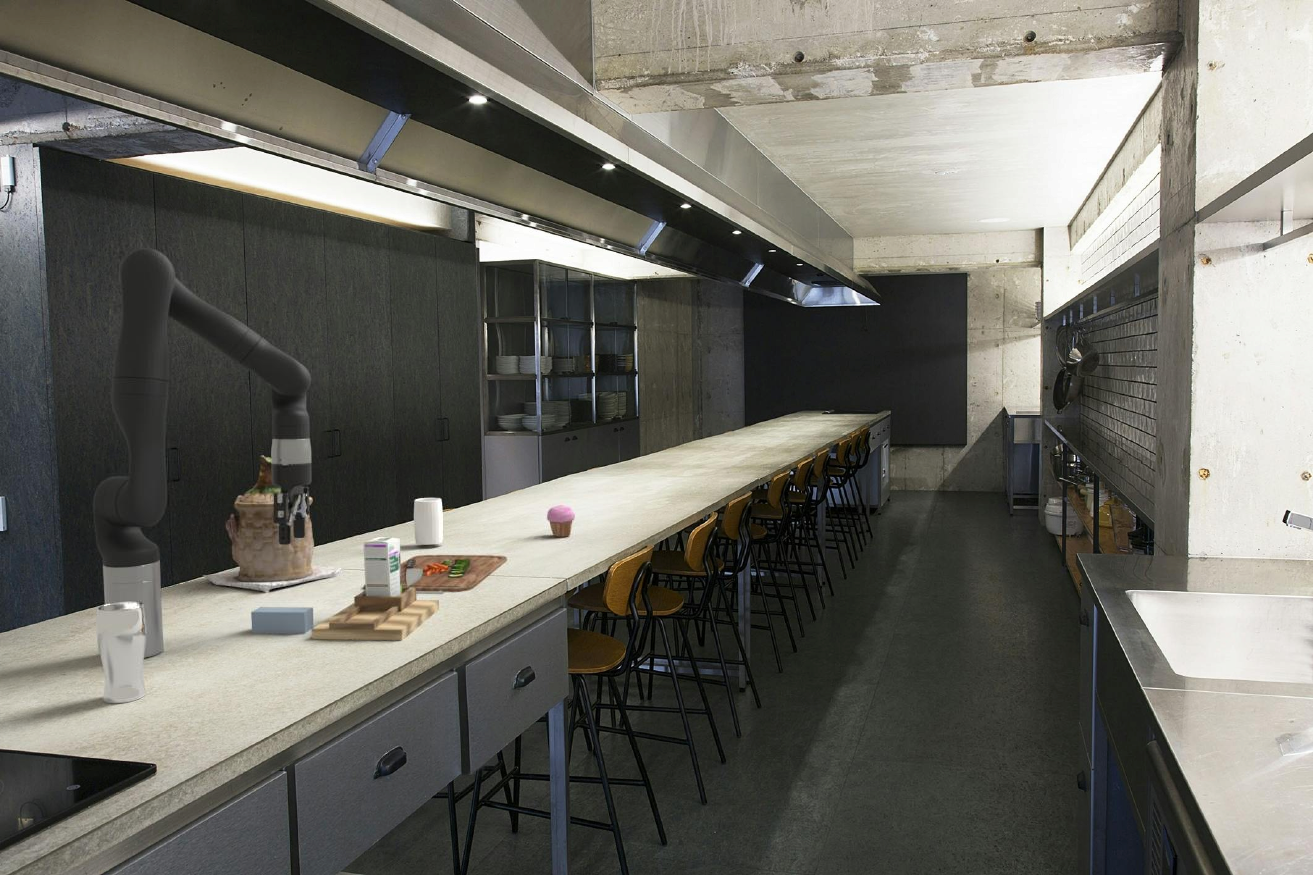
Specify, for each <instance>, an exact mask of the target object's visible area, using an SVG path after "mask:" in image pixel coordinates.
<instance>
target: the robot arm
mask: <svg viewBox="0 0 1313 875" xmlns="http://www.w3.org/2000/svg"><path fill="white" fill-rule="evenodd" d="M118 282H119V286H120V287H121V301H122V302H121V303H122V304H121V307H122V315H121V316H122V318H121V326H120V327H121V328H120V333H119V337H118V342H117V346H116V350H115V356H114V362H113V369H112V376H111V377H112V379H111V380H112V381H111V395H110V396H111V399H110V400H111V408H112V411H113V412H112V413H113V414H114V417H115V419H116V421H117V423H118V426H119V428H120V430H121V432H122V434H123V436H124V438H125V440H126V445H127V448H128V460H129V463H128V464H129V466H128V476H122V475H121V476H119V475H118V476H111V477H108V478H106V479H104V480H103V481H101V482H100V483H99V485H98V486H97V487H96V489H95V492H94V496H93V500H92V510H93V519H94V520H93V523H94V529H95V530H94V531H95V542H96V546H97V549H98V553H100V556H101V558H102V572H103V573H102V574H103V591H104V605H105V604H109V603H115V602H123V601H139V602H143V603H144V612H145V619H146V646H145V653H144V659H146V658H151V657H153V656H156V655H158V654H161V653H163V652H164V649H165V648H164V627H163V605H162V588H161V587H162V586H161V585H162V584H161V583H162V582H161V562H160V549H159V546H158V544H156V543H155V542H153V541H151V540H150V539H148V538H147V537H146V536H145V535H144V533H143V532H142V529H141V528H150V527H153V526H155V525H156V524H158V523H159V521H160V520H161V519H162V518H163V517H164V514H165V511H166V509H167V503H168V501H167V500H168V482H167V480H168V479H167V477H168V476H167V464H166V438H167V436H166V434H167V433H166V432H167V430H166V429H167V413H168V412H167V411H168V401H169V400H168V398H169V384H170V360H169V358H170V357H169V342H168V321H169V320H168V318H170V319H172V320H174V321H175V322H177V323H178V324H180V325H182V326H183V327H185V328H187V329H188V330H190V331H191V332H192V333H194V334H195V335H197V336H198V337H199V338H201V339H202V340H203V341H205V342H206V343H208V344H209V345H210V346H212V347H213V348H215V349H216V350H217V351H218V352H220V353H221V354H223V355H224V356H226V357H227V358H228V359H230V360H231V361H232V362H234V363H236V364H237V365H239V366H240V367H241V368H243V369H245V370H246V371H248V372H252V373H253V374H255V375H257V376H258V377H259V378H261V380H263V381H265V382H266V383H267V384H269V385H270V398H271V406H272V407H271V408H272V422H271V423H272V426H271V427H272V444H271V449H270V450H271V454H270V456H271V457H270V458H271V465H272V484H273V485H276V486H281V491H280V493H274V514H273V522H274V524H277V525H279V544H281V545H288V544H290V543H291V526H289V525H291V522H292V518H293V519H296V520H293V532H294V538H304V537H305V520H304V519H306V518H307V515H310V512H311V511H310V506H309V497H310V488H309V486H307V485H311V484H312V481H313V480H312V445H311V438H310V437H311V436H310V428H311V427H310V415H309V412H308V411H307V391H308V390H309V388H310V387H311V382H312V378H311V374H310V371H309V370H308V368H306V367H305V366H304V364H302V363H301V362H300V361H298V360H296V359H295V358H294V357H292V356H290V355H288V354H287V353H285V352H284V351H282V350H280V349H278V348H277V347H275V346H273V345H272V344H271V343H270V342H269V341H268V340H266V339H265V338H264V337H262V336H261V334H258V333H257V332H256V331H254V330H253V329H251V328H250V327H248V326H247V325H246V324H245V323H243V322H241V321H240V320H238V319H236V318H235V317H233V316H231V315H230V314H228V313H226V312H224V311H222V310H220V309H218V308H217V307H214V306H213V305H212V304H209V303H208V302H206V301H205V300H203V299H202V298H200V297H198V296H197V295H196V294H195V293H194V292H192V291H191V290H190V289H188V288H187V287H186V286H185V285H184V284H183V283H182V282H181V281H180V280H179V279H178V278H177V277H176V272H175V268H174V265H173V264H172V262H171V260H170V259H169V258H168V257H167V256H166V255H165V254H163V253H162V252H161V251H159V250H156V249H154V248H151V247H150V248H149V247H144V248H143V247H142V248H138V249H135V250H133V251H131V252H130V253H129V254H127V255H126V256H125V257H124V258H123V260H122V261H121V263H120V265H119V270H118ZM283 516H284V517H283Z"/></svg>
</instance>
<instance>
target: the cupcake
mask: <svg viewBox="0 0 1313 875" xmlns="http://www.w3.org/2000/svg"><path fill="white" fill-rule="evenodd" d="M575 518H576V513H575V512H574V511H573V510H572V507H571V506H568V505H563V504H560V505H556V506H552V507H550V509H549V510H548V511H547V514H546V519H547V521H548V522H549V525H550V529H551V532H552V535H553V536H555V537H557V538H562V537H569V536H571V532H572V524H573V521H574V520H575Z"/></svg>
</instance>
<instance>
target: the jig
mask: <svg viewBox="0 0 1313 875" xmlns="http://www.w3.org/2000/svg"><path fill="white" fill-rule="evenodd" d="M353 601H354V602H353V603H352V604H350V605H348V606H346V607H345V608H343V609H342V610H340V611H339V612H337V613H336V614H334V615H332V616H330V617H329V618H328V619H326V620H324V621H323V622H320V623H319V624H318V625H316V626H314V628H313V629H311V637H312V640H349V639H350V640H351V639H352V641H353V640H354V639H355V640H357V641H359V640H361V641H363V640H365V641H366V640H368V641H369V640H370V641H371V640H372V641H373V640H374V641H403V640H404V639H405V638H406V637H408V636H409V635H410V634H411V633H412V632H414V631H415V630H416V629H417V628H418V627H420V626H421V625H422V624H423V623H424V622H426V621H427V620H429V618H431V616H433V615H434V614H436V613H437V612H438V611H439V610H440V602H439V600H437V599H435V600H432V599H431V600H430V599H429V600H428V599H425V600H424V599H422V600H421V599H417V594H416V587H402V594H400V595H399V596H366V590H365V589H364V591H362V592H360V593H359V594H357V595H356V596H353ZM413 630H414V631H413ZM407 635H408V636H407Z"/></svg>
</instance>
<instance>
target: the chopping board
mask: <svg viewBox="0 0 1313 875" xmlns="http://www.w3.org/2000/svg"><path fill="white" fill-rule="evenodd" d="M507 561H508V557H507V556H505V555H493V554H421V555H416V556H413V557H412V556H411V557H410V558H409V559H407V560H405V561H403V562H402V563H401V581H402V587H416V595H420V594H422V595H444V594H445V592H446V593H447V592H451V593H452V592H455V593H456V592H459V593H460V592H468V591H471V590H473V589H475V587H477V586H478V585H479V584H481V583H482V582H483V581H484V580H485V579H487V578H488V577H489V576H491V574H492V573H494V572H495V571H496V570H498V569H499V568H500V567H501V566H502V565H503V564H505V563H506V562H507ZM363 589H364V591H365V590H366V586H365V584H364V585H363Z"/></svg>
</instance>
